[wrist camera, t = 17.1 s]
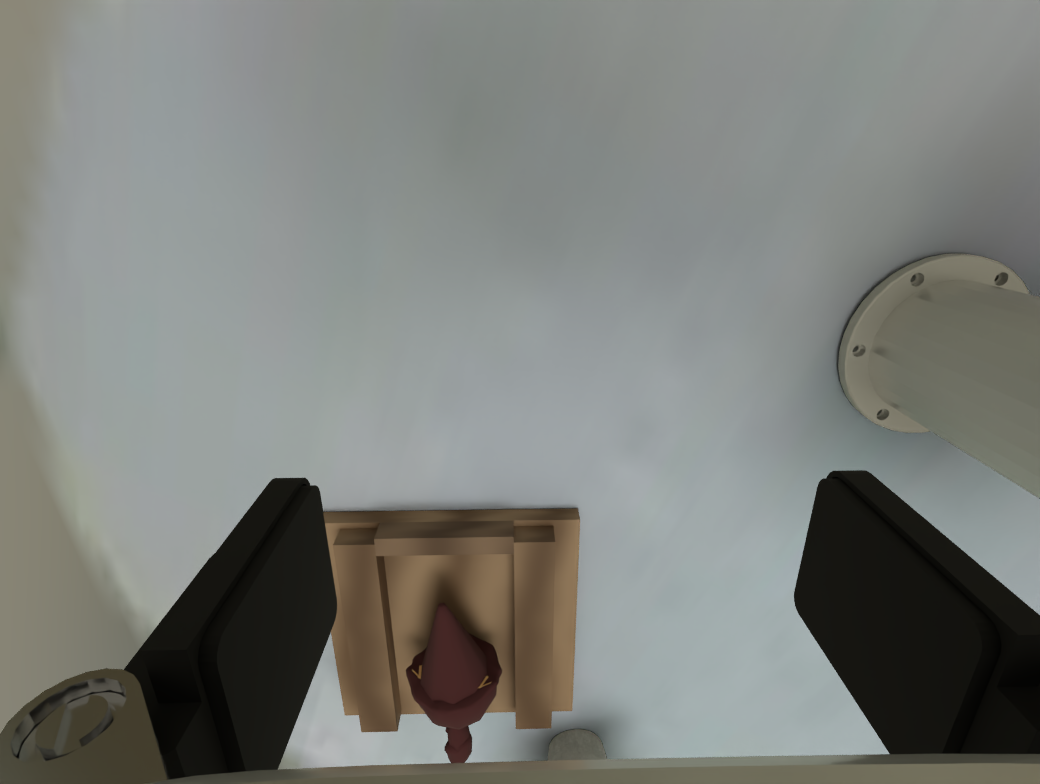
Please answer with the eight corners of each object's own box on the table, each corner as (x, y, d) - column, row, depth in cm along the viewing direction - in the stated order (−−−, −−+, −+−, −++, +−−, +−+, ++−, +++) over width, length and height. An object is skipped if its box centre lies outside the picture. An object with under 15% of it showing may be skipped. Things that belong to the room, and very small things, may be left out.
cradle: (577, 508, 44) (583, 535, 40) (570, 696, 51) (574, 731, 48) (319, 512, 43) (303, 539, 40) (349, 700, 51) (338, 736, 47)
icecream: (371, 639, 38) (409, 769, 45) (476, 654, 36) (499, 787, 43) (412, 564, 44) (440, 689, 51) (503, 575, 42) (519, 702, 49)
